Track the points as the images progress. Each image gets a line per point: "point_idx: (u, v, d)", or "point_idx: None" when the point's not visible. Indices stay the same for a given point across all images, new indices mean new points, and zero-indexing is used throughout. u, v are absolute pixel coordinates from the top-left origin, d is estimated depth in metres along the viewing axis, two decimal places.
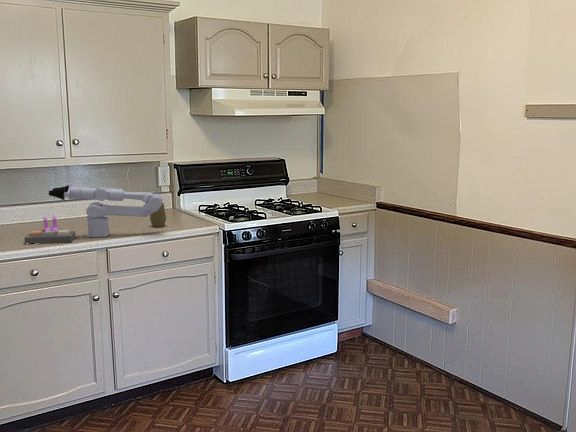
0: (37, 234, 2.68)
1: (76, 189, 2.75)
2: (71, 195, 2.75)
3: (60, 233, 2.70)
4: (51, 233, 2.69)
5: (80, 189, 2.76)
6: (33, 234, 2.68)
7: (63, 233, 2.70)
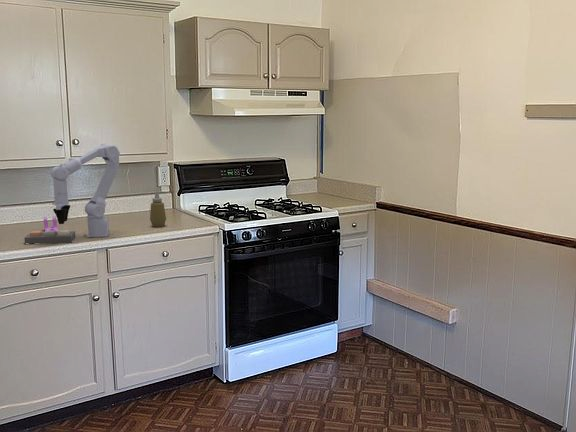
0: (37, 234, 2.68)
1: (55, 198, 2.67)
2: (62, 202, 2.67)
3: (60, 233, 2.70)
4: (51, 233, 2.69)
5: (55, 194, 2.67)
6: (33, 234, 2.68)
7: (63, 233, 2.70)
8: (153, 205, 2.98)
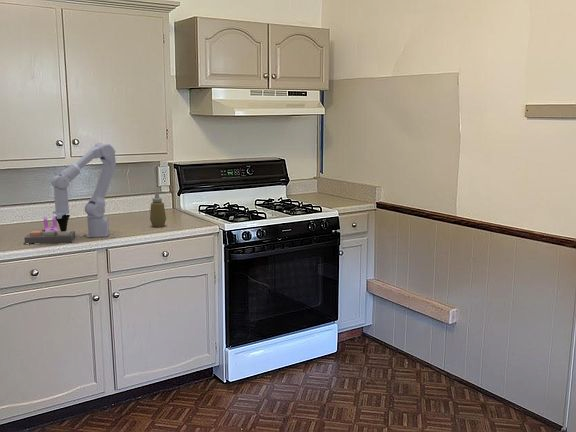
0: (37, 234, 2.68)
1: (56, 206, 2.68)
2: (62, 211, 2.68)
3: (60, 233, 2.70)
4: (51, 233, 2.69)
5: (55, 203, 2.67)
6: (33, 234, 2.68)
7: (63, 233, 2.70)
8: (153, 205, 2.98)
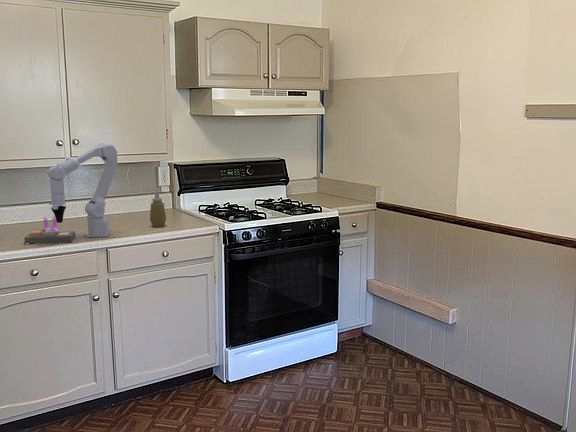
0: (37, 234, 2.68)
1: (52, 197, 2.66)
2: (59, 202, 2.67)
3: None
4: (51, 233, 2.69)
5: (52, 193, 2.66)
6: (33, 234, 2.68)
7: None
8: (153, 205, 2.98)
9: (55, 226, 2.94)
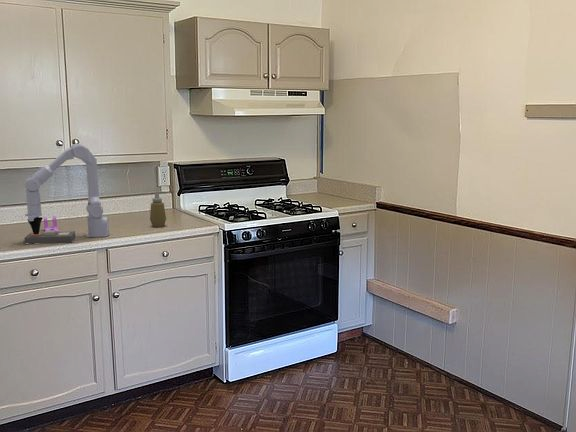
0: None
1: (28, 209, 2.66)
2: (35, 214, 2.66)
3: None
4: (51, 233, 2.69)
5: (28, 205, 2.66)
6: None
7: None
8: (153, 205, 2.98)
9: (55, 226, 2.94)
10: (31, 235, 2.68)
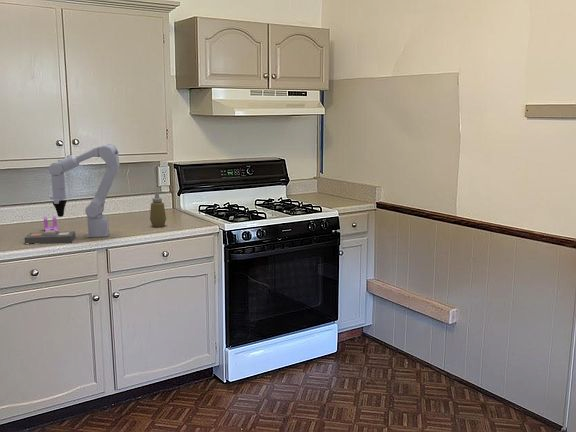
0: None
1: (53, 192, 2.76)
2: (59, 197, 2.76)
3: None
4: (51, 233, 2.69)
5: (53, 188, 2.76)
6: None
7: None
8: (153, 205, 2.98)
9: (55, 226, 2.94)
10: None
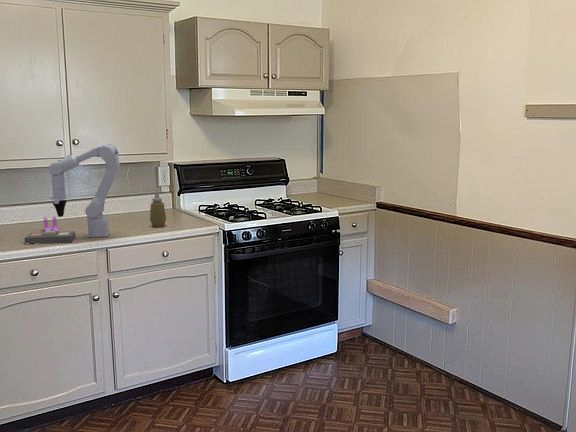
0: None
1: (53, 192, 2.76)
2: (59, 197, 2.76)
3: None
4: (51, 233, 2.69)
5: (53, 188, 2.76)
6: None
7: None
8: (153, 205, 2.98)
9: (55, 226, 2.94)
10: None
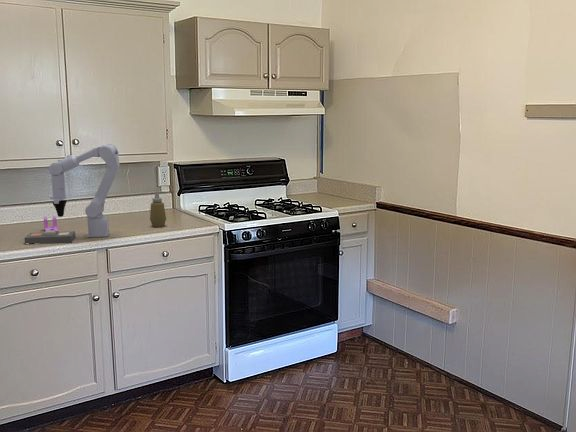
0: None
1: (53, 192, 2.76)
2: (59, 197, 2.76)
3: None
4: (51, 233, 2.69)
5: (53, 188, 2.76)
6: None
7: None
8: (153, 205, 2.98)
9: (55, 226, 2.94)
10: None
